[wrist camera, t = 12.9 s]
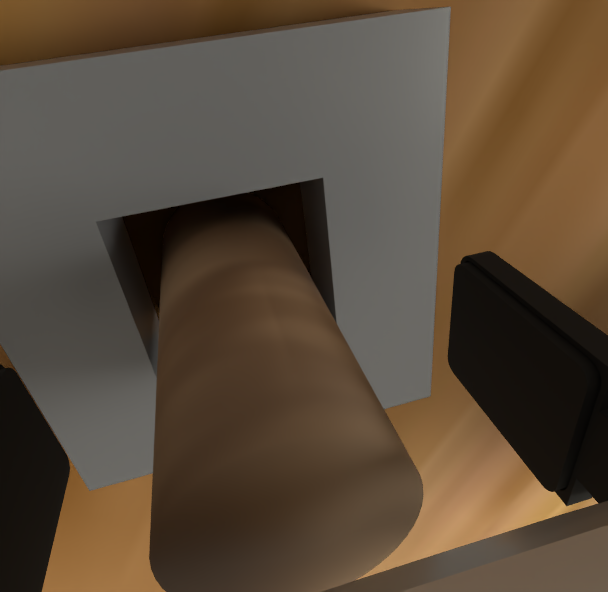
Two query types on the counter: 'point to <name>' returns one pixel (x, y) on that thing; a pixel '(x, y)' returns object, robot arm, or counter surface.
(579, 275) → the counter surface
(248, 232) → the peg
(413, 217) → the socket
